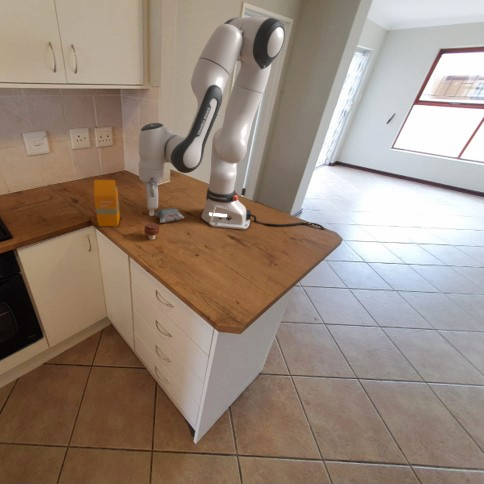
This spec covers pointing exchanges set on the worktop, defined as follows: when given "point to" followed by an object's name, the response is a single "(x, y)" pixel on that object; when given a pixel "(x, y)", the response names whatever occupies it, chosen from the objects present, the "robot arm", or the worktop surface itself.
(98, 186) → the orange juice
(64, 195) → the worktop surface
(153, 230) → the brown stepped knob
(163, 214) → the packaged food
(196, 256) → the worktop surface
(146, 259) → the worktop surface
